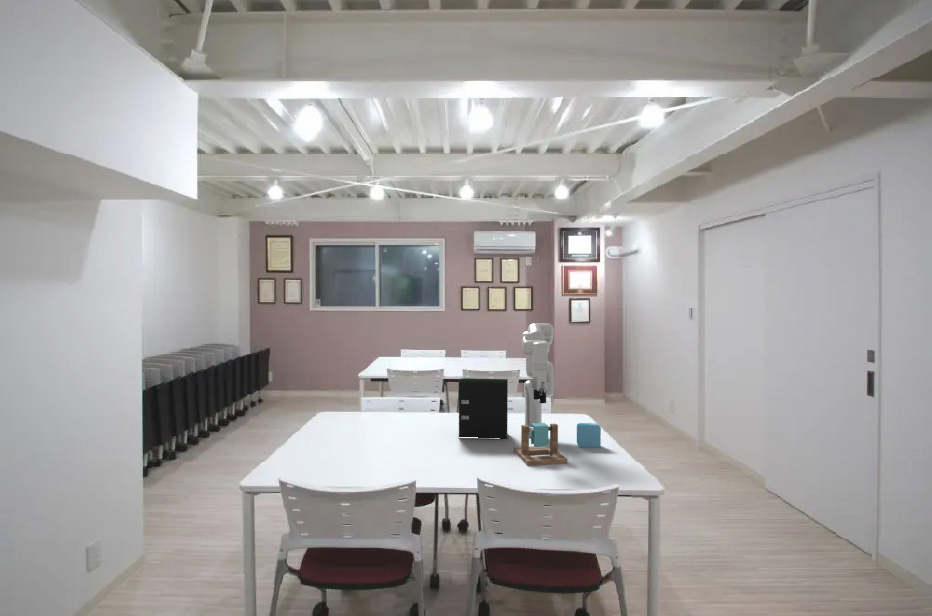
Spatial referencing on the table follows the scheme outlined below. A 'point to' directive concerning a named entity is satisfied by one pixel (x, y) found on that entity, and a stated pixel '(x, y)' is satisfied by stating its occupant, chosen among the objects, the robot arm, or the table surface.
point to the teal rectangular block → (539, 434)
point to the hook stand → (540, 448)
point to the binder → (483, 408)
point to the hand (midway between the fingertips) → (539, 401)
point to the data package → (588, 435)
